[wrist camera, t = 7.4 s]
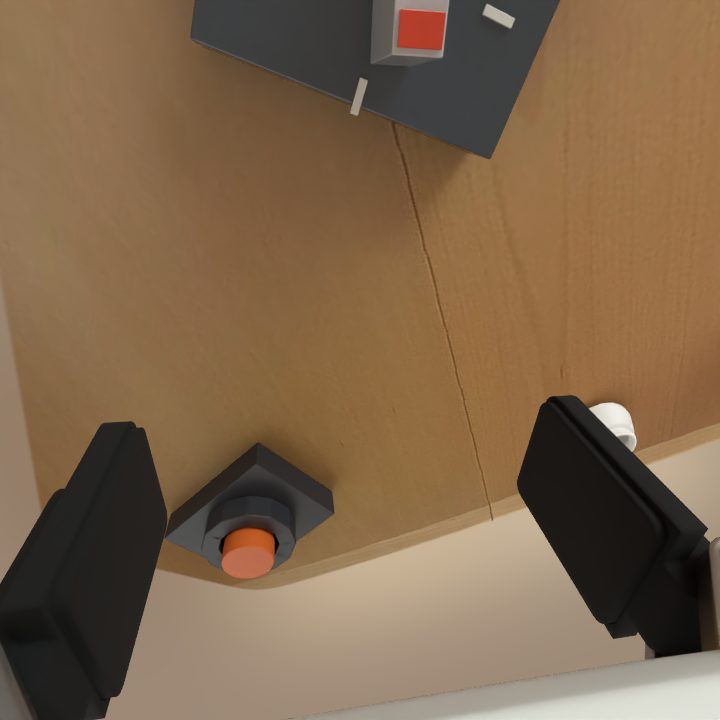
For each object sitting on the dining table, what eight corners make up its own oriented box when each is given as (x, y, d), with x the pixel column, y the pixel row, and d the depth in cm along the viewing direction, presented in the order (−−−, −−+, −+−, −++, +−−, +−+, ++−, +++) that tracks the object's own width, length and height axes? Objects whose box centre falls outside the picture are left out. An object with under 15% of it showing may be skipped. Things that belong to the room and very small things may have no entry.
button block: (170, 514, 34) (157, 560, 31) (258, 442, 32) (254, 483, 28) (248, 554, 38) (245, 598, 34) (332, 491, 35) (337, 533, 32)
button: (213, 544, 31) (210, 566, 30) (247, 518, 30) (245, 539, 29) (251, 563, 33) (250, 584, 32) (285, 538, 32) (285, 560, 31)
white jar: (625, 433, 37) (622, 390, 34) (649, 457, 34) (648, 413, 32) (569, 455, 37) (562, 414, 35) (589, 480, 35) (583, 438, 32)
